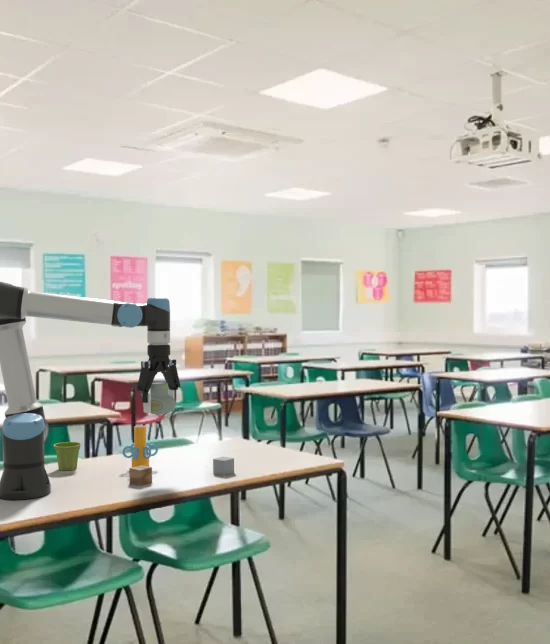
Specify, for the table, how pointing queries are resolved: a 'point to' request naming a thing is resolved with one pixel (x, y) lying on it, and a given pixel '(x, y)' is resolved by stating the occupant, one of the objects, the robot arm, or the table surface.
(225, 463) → the grey block
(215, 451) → the table surface
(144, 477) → the walnut block
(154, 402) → the air freshener
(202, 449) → the table surface
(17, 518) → the table surface
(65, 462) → the plant pot
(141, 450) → the cylinder
